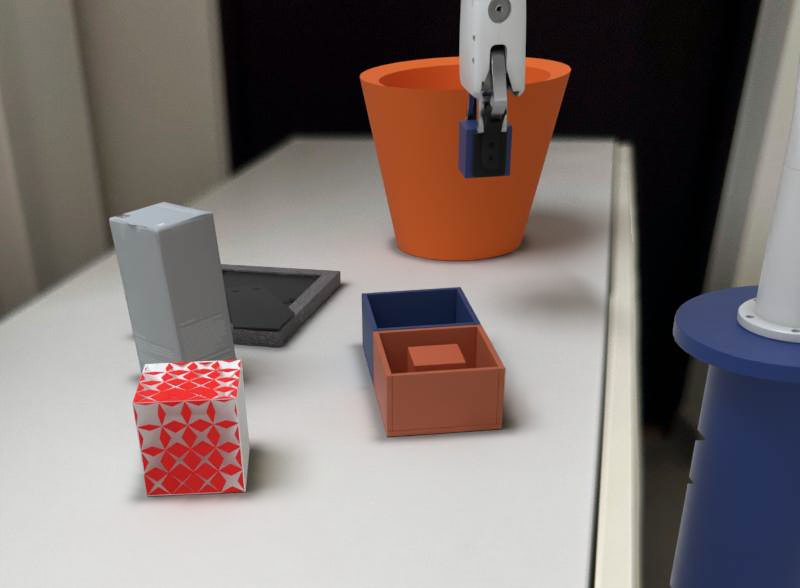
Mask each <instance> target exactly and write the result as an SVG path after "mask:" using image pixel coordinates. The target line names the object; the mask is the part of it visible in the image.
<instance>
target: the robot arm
mask: <svg viewBox="0 0 800 588" xmlns="http://www.w3.org/2000/svg"><path fill="white" fill-rule="evenodd" d="M459 14H460V15H459V17H460V18H459V47H458V48H459V49H458V50H459V53H458V54H459V55H458V57H459V69H460V82H461V84H462V86H463V87H464V88H465V89H466V90H467V104H466V120H477V133H473V161H472V174H473V176H474V177H475V178H480V177H496V176H503V175H504V174H505V168H506V148H507V90H508V91H509V92H510V93H512V94H513V95H514V96H516V97H518V96H520V95H521V94H522V93H523V92H524V89H525V57H526V51H527V50H526V48H527V47H526V45H527V0H460V13H459ZM758 285H759V287H758V292H757V297H756V298H753V299H750V300H748V301H746V302H744V303H743V304H742V305H741V306H740V307H739V309H738V314H737V321H738V323H739V324H740V325H741V326H742V327H743V328H744V329H746V330H748V331H749V332H752V333H754V334H756V335H759V336H762V337H765V338H769V339H773V340H778V341H784V342H790V343H800V55H799V57H798V67H797V77H796V86H795V94H794V103H793V110H792V116H791V122H790V128H789V134H788V139H787V144H786V149H785V154H784V159H783V162H782V167H781V172H780V178H779V182H778V187H777V192H776V196H775V202H774V206H773V212H772V217H771V222H770V227H769V232H768V237H767V242H766V248H765V252H764V258H763V263H762V267H761V273H760V277H759V282H758Z"/></svg>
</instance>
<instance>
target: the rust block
mask: <svg viewBox="0 0 800 588" xmlns="http://www.w3.org/2000/svg"><path fill="white" fill-rule="evenodd" d="M455 369H466V361H465V359H464V357H463V355H462V353H461V351H460V349H459V347H458V344H447V345H432V346H417V347H408V373H410V372H425V371H440V370H455Z"/></svg>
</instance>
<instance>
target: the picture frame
mask: <svg viewBox="0 0 800 588" xmlns="http://www.w3.org/2000/svg"><path fill="white" fill-rule="evenodd" d="M221 268H222V274H223V281H224V287H225V293H226V299H227V306H228V312H229V318H230V324H231V331H232V337H233V343H234V345H235V344H236V345H245V346H246V345H247V346H258V347H272V348H280V347H281V346H282V345H283V344H284V343H285V342H286V341H287V340H288V339H289V338H290V337H291V336H292V335H293V334H294V332H296V331H297V330H298V329H299V328H300V327H301V326H302V325H303V324H304V323H305V322H306V321H307V320H308V318H309V317H311V316H312V314H314V312H316V310H317V309H319V307H320V306H321V305H322V304H323V303H325V301H326V300H327V299H328V298H329V297H330V296H331V295H332V294H333V293H334V292H335V291H336V290H337V289H338V288H339V287H340V286H341V285H342V282H341V280H342V279H341V271H340V270H330V269H329V270H328V269H314V268H313V269H311V268H297V267H296V268H293V267H281V266H280V267H278V266H263V265H262V266H261V265H244V264H225V263H221Z"/></svg>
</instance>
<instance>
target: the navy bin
mask: <svg viewBox="0 0 800 588" xmlns="http://www.w3.org/2000/svg"><path fill="white" fill-rule="evenodd" d="M479 324H481V325H482V323H481V322H480V320H479V318H478V316H477V314H476V312H475V311H474V309H473V307H472V305H471V303H470V302H469V299H468V298H467V296H466V295H465V292H464V290H463V288H462V287H461V286H456V287H453V286H452V287H437V288H421V289H407V290H393V291H392V290H391V291H390V290H389V291H380V292H379V291H378V292H363V293H361V333H362V334H361V335H362V338H361V339H362V350H363V353H364V357H365V362H366V364H367V368H368V372H369V375H370V379H371V383H372V386H373V388H374V367H373V331H378V332H379V331H388V330H403V329H418V328H434V327H449V326H464V325H479Z"/></svg>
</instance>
